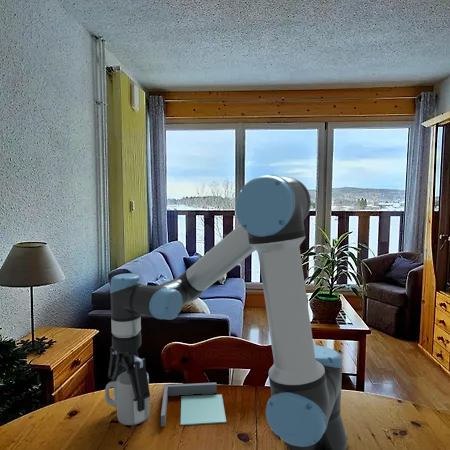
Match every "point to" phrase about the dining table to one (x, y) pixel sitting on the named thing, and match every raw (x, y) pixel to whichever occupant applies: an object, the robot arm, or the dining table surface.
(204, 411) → the mat
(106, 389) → the mug
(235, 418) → the dining table surface
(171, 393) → the gray corner wall
